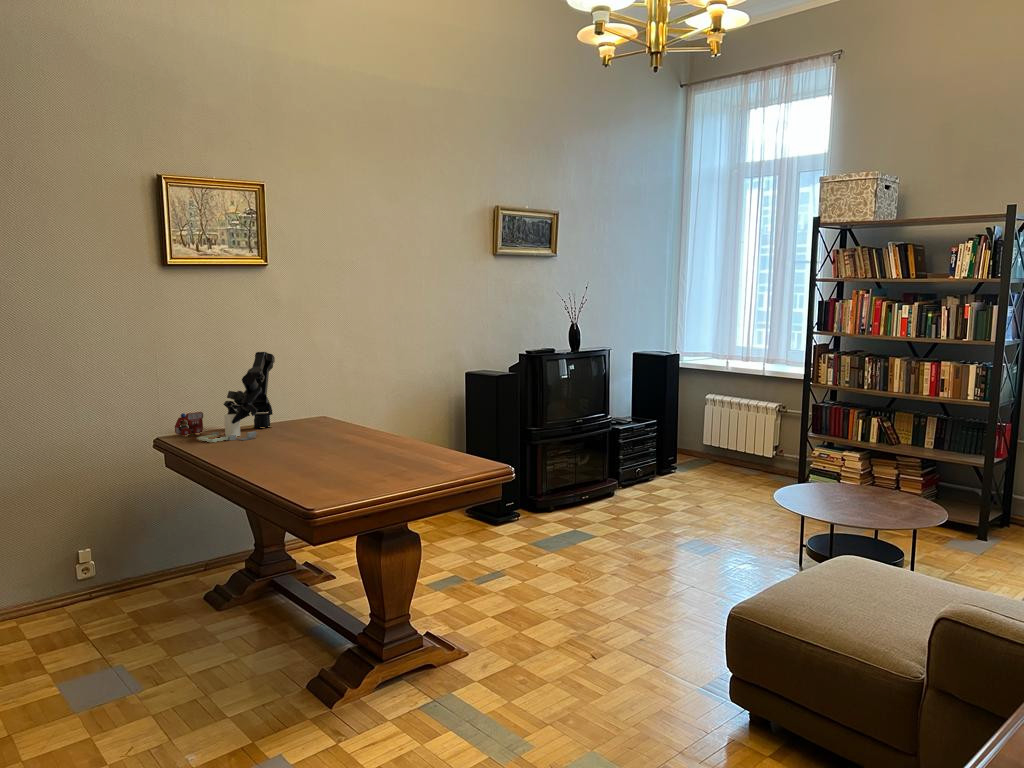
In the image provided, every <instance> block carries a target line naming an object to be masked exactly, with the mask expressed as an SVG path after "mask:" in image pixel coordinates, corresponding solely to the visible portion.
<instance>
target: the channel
mask: <svg viewBox="0 0 1024 768" xmlns="http://www.w3.org/2000/svg"><path fill="white" fill-rule="evenodd" d="M213 434H217V435H219V431H215V432H211V433H210V435H213ZM228 437H229V440H228V441H230V440H231V441H236V440H238V441H243V442H245V441H249V440H255V439H256V437H257V431H250V432H246V437H238V438H237V437H236V435H230V436H228Z"/></svg>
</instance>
